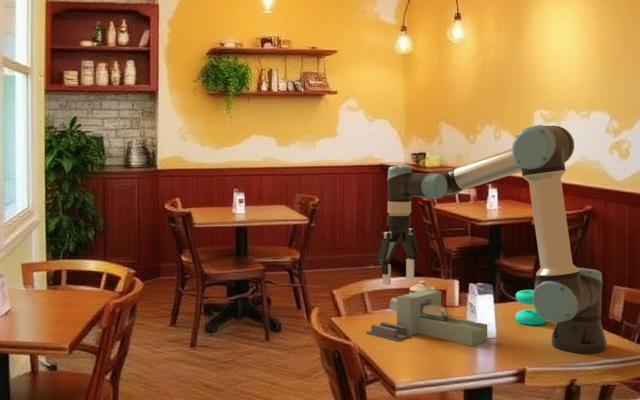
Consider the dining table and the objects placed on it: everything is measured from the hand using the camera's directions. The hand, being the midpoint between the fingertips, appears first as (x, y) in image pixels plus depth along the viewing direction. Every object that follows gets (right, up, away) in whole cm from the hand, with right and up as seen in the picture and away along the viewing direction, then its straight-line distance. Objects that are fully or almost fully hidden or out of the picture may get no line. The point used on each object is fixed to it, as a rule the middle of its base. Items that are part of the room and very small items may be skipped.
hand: (398, 281), depth 246 cm
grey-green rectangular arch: (+6, -15, -5) cm, 16 cm away
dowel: (+5, -11, -4) cm, 13 cm away
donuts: (+44, -14, +4) cm, 46 cm away
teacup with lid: (+10, -13, +15) cm, 22 cm away
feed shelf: (+15, -15, -13) cm, 25 cm away
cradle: (-4, -15, -11) cm, 19 cm away
